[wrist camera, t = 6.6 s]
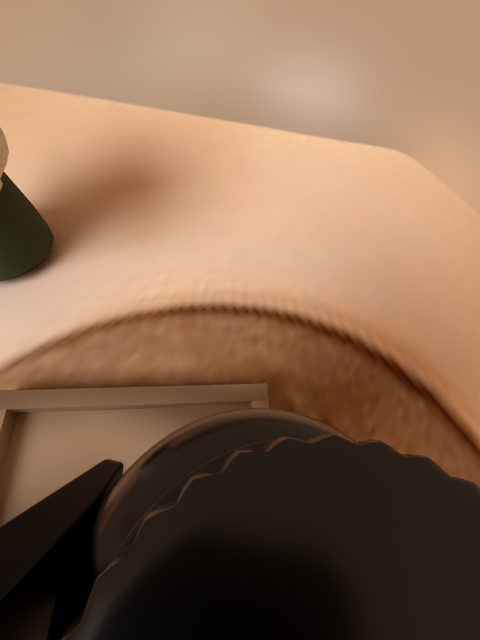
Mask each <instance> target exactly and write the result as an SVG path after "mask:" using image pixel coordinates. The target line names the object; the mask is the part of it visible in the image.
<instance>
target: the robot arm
mask: <svg viewBox="0 0 480 640" xmlns="http://www.w3.org/2000/svg"><path fill="white" fill-rule="evenodd" d="M123 469H124V465H123V463H122V462H119V461H115V460H111V459H105V460H103V461H101V462H100V463H98V464H97V465H95V466H94V467H92V468H90V469H89V470H87V471H86V472H84V473H83V474H81V475H80V476H78V477H76V478H75V479H73V480H72V481H70V482H69V483H67V484H66V485H64V486H62V487H61V488H59V489H58V490H56V491H55V492H53V493H51V494H50V495H48V496H47V497H45V498H44V499H42V500H41V501H39V502H37V503H36V504H34V505H33V506H31V507H30V508H28V509H27V510H25V511H23V512H22V513H20V514H19V515H17V516H16V517H14V518H13V519H11V520H9V521H8V522H6V523H5V524H3V525H2V526H0V640H46V639H47V633H48V628H49V624H50V620H51V616H52V612H53V608H54V605H55V601H56V597H57V594H58V591H59V589H60V586H61V583H62V580H63V577H64V574H65V571H66V569H67V566H68V564H69V562H70V559H71V557H72V555H73V552H74V550H75V547H76V545H77V543H78V541H79V539H80V538H81V536H82V534H83V532H84V530H85V528H86V526H87V524H88V522H89V521H90V519H91V517H92V516H93V514H94V512H95V511H96V509H97V508H98V506H99V504H100V503H101V501H102V500H103V499H104V497H105V496H106V495H107V493H108V492H109V490H110V489H111V488H112V486H113V485H114V484H115V483H116V482H117V480H118V479H119V478H120V477H121V476H122V475H123Z"/></svg>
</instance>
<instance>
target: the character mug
mask: <svg viewBox="0 0 480 640" xmlns="http://www.w3.org/2000/svg"><path fill="white" fill-rule="evenodd" d="M8 153H9V150H8V146H7V141H6V138H5V135H4V133H3V131H2V129H1V128H0V281H1V280H5V279H9V278H13V277H17V276H18V275H20V274H22V273H24V272H26V271H27V270H29V269H31V268H33V267H34V266H36V265H38V264H39V263H40V262H41V261H42V260H43V259H44V258H45V257H46V256H47V255H48V254H49V253H51V248H52V243H53V238H54V237H53V235H52V233H51V231H50V228H49V226H48V224H47V223H46V222H45V220H44V219H43V218H42V216H41V215H40V214H39V213H38V211H37V210H36V209H35V207H34V206H33V205H32V204H31V202H30V201H29V200H28V199H27V198H26V197H25V195H24V194H23V193H22V192H21V191H20V190H19V188H18V187H17V186H16V185H15V184H14V183H13V182H12V180H11V179H10V178H9V177H8V176H7V175H6V174H5V172H3V171H4V169H5V166H6V163H7V159H8Z"/></svg>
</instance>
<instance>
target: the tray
mask: <svg viewBox="0 0 480 640" xmlns="http://www.w3.org/2000/svg"><path fill="white" fill-rule="evenodd" d="M242 408H270V407H269V397H268V387H267V383H263V384H226V385H188V386H151V387H114V388H76V389H39V390H1V391H0V526H2V525H3V524H5V523H6V522H8V521H9V520H11V519H13V518H14V517H16V516H17V515H19V514H20V513H22V512H23V511H25V510H27V509H28V508H30V507H31V506H33V505H34V504H36V503H37V502H39V501H41V500H42V499H44V498H45V497H47V496H48V495H50V494H51V493H53V492H55V491H56V490H58V489H59V488H61V487H62V486H64V485H66V484H67V483H69V482H70V481H72V480H73V479H75V478H76V477H78V476H80V475H81V474H83V473H84V472H86V471H87V470H89V469H90V468H92V467H94V466H95V465H97V464H98V463H100V462H101V461H103V460H105V459H111V460H115V461H119V462H122V463H123V465H124V469H123V473H124V472H125V471H126V470H127V469H128V468H129V467H130V466H131V465H132V464H133V463H134V462H135V461H136V460H137V459H138V458H139V457H140V456H141V455H142V454H144V453H145V452H146V451H147V450H148V449H150V448H151V447H152V446H153V445H155V444H156V443H157V442H159V441H160V440H162V439H163V438H165V437H166V436H167V435H169V434H170V433H172V432H174V431H176V430H177V429H179V428H181V427H183V426H185V425H187V424H189V423H191V422H193V421H196V420H198V419H200V418H203V417H206V416H209V415H212V414H215V413H219V412H224V411H228V410H234V409H242Z"/></svg>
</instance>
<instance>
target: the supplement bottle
mask: <svg viewBox="0 0 480 640" xmlns="http://www.w3.org/2000/svg"><path fill="white" fill-rule="evenodd" d="M46 640H480V488H479V487H478V486H477V485H476V484H475V483H473V482H470V481H467V480H464V479H460V478H455V477H450V476H449V475H448V474H447V473H446V472H445V471H444V470H443V469H442V468H440V467H439V466H438V465H437V464H436V463H434V462H433V461H432V460H431V459H429V458H428V457H426V456H421V455H410V454H400V453H398V452H397V451H396V450H395V449H393V448H392V447H390V446H389V445H387V444H385V443H383V442H382V441H379V440H366V441H359V442H356V441H355V440H353V439H352V438H351V437H349V436H347V435H346V434H344V433H343V432H341V431H339V430H338V429H336V428H334V427H332V426H330V425H328V424H326V423H324V422H322V421H319V420H317V419H314V418H312V417H309V416H306V415H302V414H299V413H295V412H291V411H286V410H280V409H271V408H242V409H234V410H228V411H224V412H219V413H215V414H212V415H209V416H206V417H203V418H200V419H198V420H196V421H193V422H191V423H189V424H187V425H185V426H183V427H181V428H179V429H177V430H176V431H174V432H172V433H170V434H169V435H167V436H166V437H165V438H163V439H162V440H160V441H159V442H157V443H156V444H155V445H153V446H152V447H151V448H150V449H148V450H147V451H146V452H145V453H144V454H142V455H141V456H140V457H139V458H138V459H137V460H136V461H135V462H134V463H133V464H132V465H131V466H130V467H129V468H128V469H127V470H126V471H125V472H124V473H123V475H122V476H121V477H120V478H119V479H118V480H117V482H116V483H115V484H114V485H113V486H112V488H111V489H110V490H109V492H108V493H107V495H106V496H105V497H104V499H103V500H102V501H101V503H100V504H99V506H98V508H97V509H96V511H95V512H94V514H93V516H92V517H91V519H90V521H89V522H88V524H87V526H86V528H85V530H84V532H83V534H82V536H81V538H80V539H79V541H78V543H77V545H76V547H75V550H74V552H73V555H72V557H71V559H70V562H69V564H68V566H67V569H66V571H65V574H64V577H63V580H62V583H61V586H60V589H59V591H58V594H57V597H56V601H55V605H54V608H53V612H52V616H51V620H50V624H49V628H48V633H47V639H46Z"/></svg>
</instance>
